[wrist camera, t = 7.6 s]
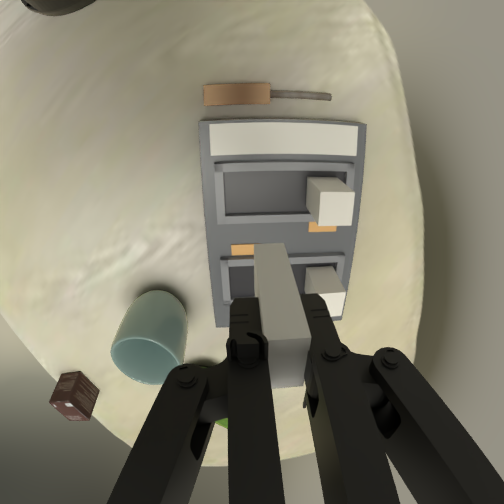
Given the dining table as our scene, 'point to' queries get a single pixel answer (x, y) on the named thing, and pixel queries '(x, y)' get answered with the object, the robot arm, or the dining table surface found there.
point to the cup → (151, 338)
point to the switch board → (274, 198)
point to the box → (74, 396)
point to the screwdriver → (251, 94)
